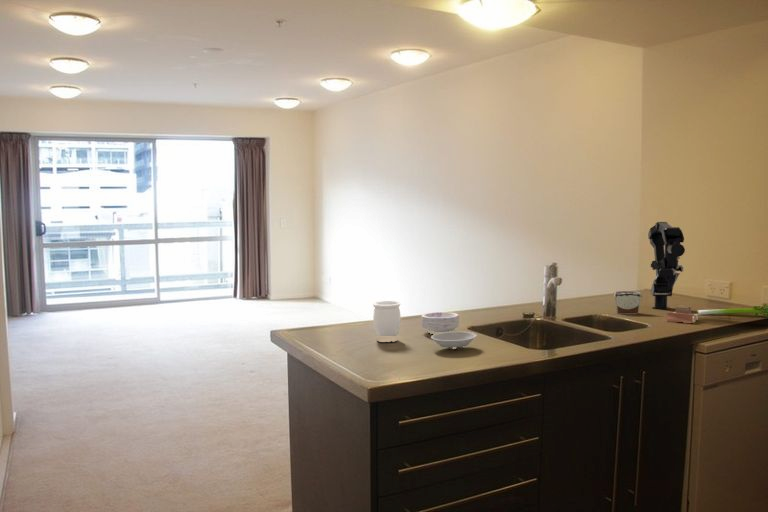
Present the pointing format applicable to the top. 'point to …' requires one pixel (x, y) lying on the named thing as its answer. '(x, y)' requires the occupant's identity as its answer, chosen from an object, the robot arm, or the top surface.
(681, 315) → the channel
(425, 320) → the paper bowls
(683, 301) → the top surface
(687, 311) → the block
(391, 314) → the jar
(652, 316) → the top surface
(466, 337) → the dish
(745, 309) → the leek
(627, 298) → the food container
